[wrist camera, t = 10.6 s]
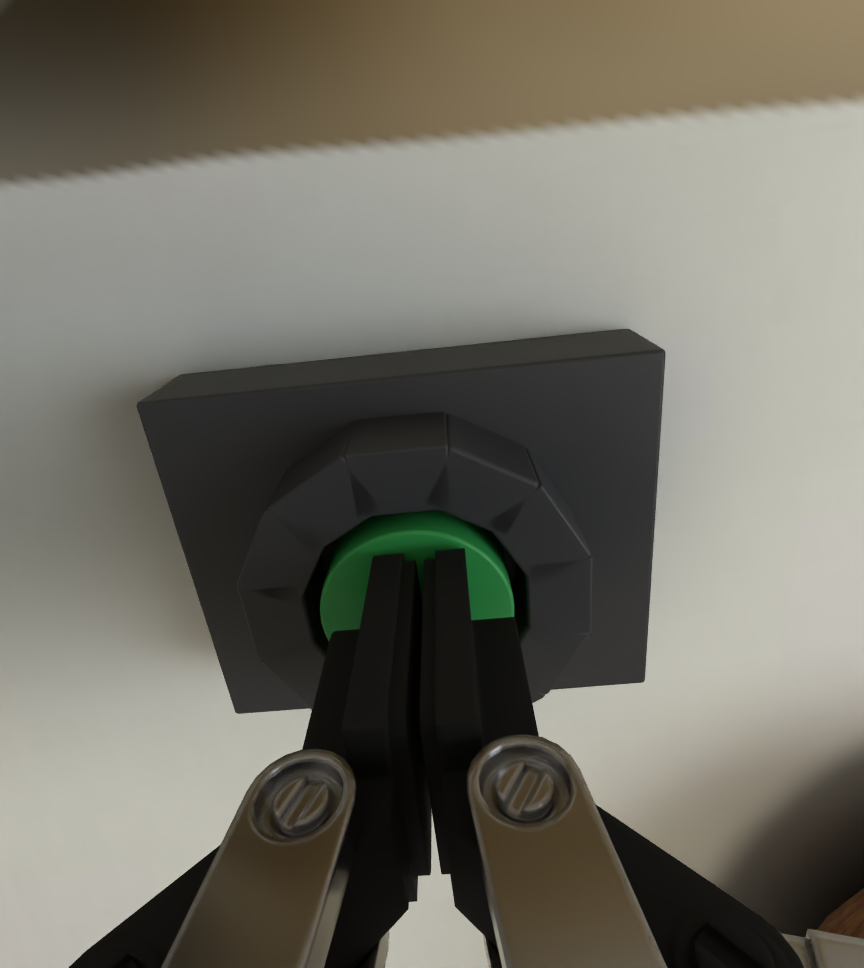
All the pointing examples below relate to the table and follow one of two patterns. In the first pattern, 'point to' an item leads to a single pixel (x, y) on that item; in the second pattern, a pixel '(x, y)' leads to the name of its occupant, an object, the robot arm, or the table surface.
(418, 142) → the table surface
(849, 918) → the bowl
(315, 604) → the control block
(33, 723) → the table surface
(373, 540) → the button
